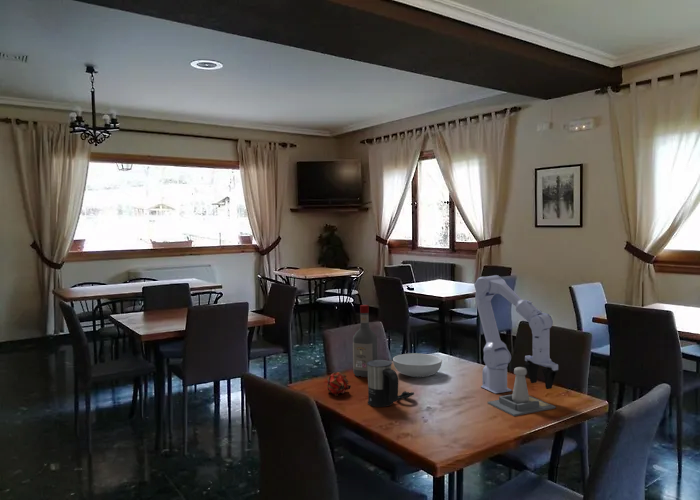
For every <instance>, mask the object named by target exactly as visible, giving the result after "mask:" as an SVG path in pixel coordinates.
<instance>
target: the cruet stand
mask: <svg viewBox="0 0 700 500" xmlns="http://www.w3.org/2000/svg"><path fill="white" fill-rule="evenodd" d="M512 394H513V393H512ZM512 394H507V395H499V396H498V399H496V400H491V401H487V404H488V405H490V406H492V407H493V408H496V409H498V410H500V411H502V412H503V413H506V414H508V415H511V416H513V417H518V416H522V415H527V414H528V415H529V414H533V413H538V412H543V411H549V410H552V409H553V410H554V409H556V408H557V407H556V406H555V405H553V404H551V403H548V402H546V401H544V400H541V399H540V398H539V399H538V398H536V397H534V396H532V395H529V401H528V402H526V403H520V404H516V403H514V402H513V400H512Z"/></svg>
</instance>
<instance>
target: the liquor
mask: <svg viewBox="0 0 700 500" xmlns="http://www.w3.org/2000/svg"><path fill="white" fill-rule="evenodd" d="M369 308H370V307H369V304H361V305H359V313H360V325H359V328H358V330H356V331H355V334H353V336H352V366H353V367H352V370H353V374H355V375H354V376H355V377H359V376H361V377H360V378H368V365H367V362H369V361H373V360H378V336H377V334H376V333H375V332H374V331H373V330H372V329H371V327H370V324H369V323H370V322H369V318H370V317H369V313H370V311H369V310H370V309H369Z"/></svg>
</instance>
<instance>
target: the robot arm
mask: <svg viewBox="0 0 700 500" xmlns="http://www.w3.org/2000/svg"><path fill="white" fill-rule="evenodd" d="M474 289H475V297H474V298H475V302H476V303H475V305H476V307H477V311H478V315H479V319H480V323H481V327H482V330H483V334H484V339H485V345H484V347H483V349H482V350H483V362H484V364H485V365H484V367H483V368H482V377H481V378H482V385H480V388H482V389H484V390H486V391H489V392H490V393H493V394H495V395H496V394H501V393H502V394H503V393H507V392H513V388H512V389H511V388H510V387H508V366H509V363H510V362H511V360H512V355H511V352H510V351H509V349H508V347H507V344H506V343H505V342H504V341H503V340H501V337H500V332H499V328H498V325H497V320H496V318H495V312H494V310H493V305H492V302H491V301H492V299H493V297H494V296H496V295H497V294H498V295H500V296H502V297H503V298H505V299H506V301H507V302H509V303H511V304H512V305H513V306H514V307H515V310H516V312H517V313H518V314H519V315H520V316H521V317H522V318H523V319H524V320H525V321H526V322H528V325H529V328H530V330H531V334H532V355H530V354H529V355H525V356H524V361H525V362H524V363H523V364H524V365H523V367H524V368H526V370H527V374H528V377H529V381H530V384H535V383H537V381H538V371H539V367H540V366H541V367H545V368H543V369H541V370H542V374H543V376H544V383H545V389H546V390H551V389H552V388H553V384H554V381H555V380H556V376H557V375H558V373H559V371H560V370H559V364H558V363H555V362H553V361H552V359H551V358H550V348H551V347H550V336H551V335H550V331H551V328H552V326H553V325H554V324H553V323H554V321H553V318H552V316H551V315H550V314H549V313H546V312H542V310H540V309H539V308H537V307H536V306H535V305H534V304H533V301H531V300H528V299H522V298H521V297H520V296H519V295H518V294H517V293H516V292H515V291H514V290H513V289H512V288H511V287H510V286H509V285H508V284H507V282H506V280H505V279H503V278H502V277H501V276H499V274H498V275H497V274H494V275H489V276H488V275H487V276H479V277H478V278H477V279H476V281H475V283H474Z"/></svg>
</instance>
